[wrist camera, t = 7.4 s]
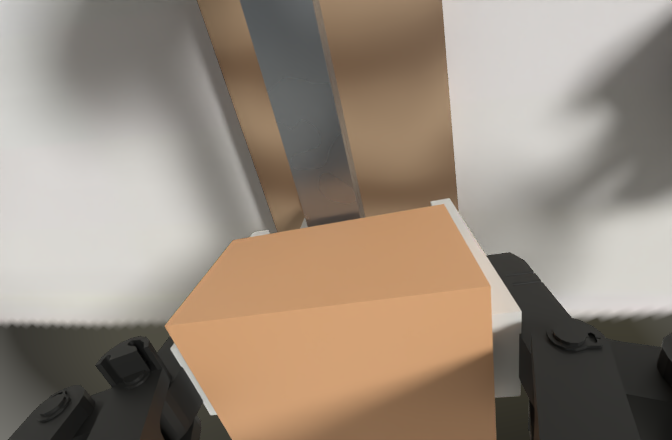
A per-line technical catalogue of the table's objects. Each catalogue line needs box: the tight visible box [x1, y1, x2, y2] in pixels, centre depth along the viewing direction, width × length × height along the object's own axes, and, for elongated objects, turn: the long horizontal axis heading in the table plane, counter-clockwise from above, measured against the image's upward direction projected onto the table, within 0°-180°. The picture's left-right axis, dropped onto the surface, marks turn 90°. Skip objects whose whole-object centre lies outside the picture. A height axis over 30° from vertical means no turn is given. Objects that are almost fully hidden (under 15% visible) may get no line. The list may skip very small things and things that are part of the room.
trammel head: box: [165, 204, 496, 440], centre depth 13 cm, size 5×7×13 cm
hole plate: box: [197, 0, 458, 232], centre depth 17 cm, size 30×12×2 cm, turn 13°
